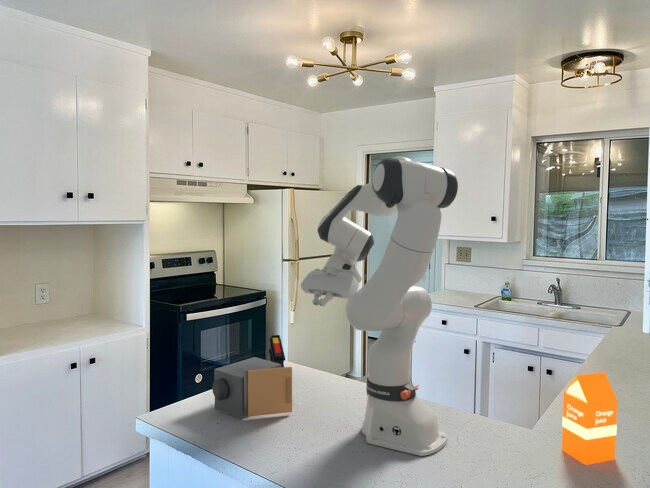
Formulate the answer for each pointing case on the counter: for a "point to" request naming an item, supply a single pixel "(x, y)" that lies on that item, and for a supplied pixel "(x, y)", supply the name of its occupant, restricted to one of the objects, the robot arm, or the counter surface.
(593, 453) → the orange juice
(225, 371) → the camera box
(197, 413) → the counter surface
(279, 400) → the side door
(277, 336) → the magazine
